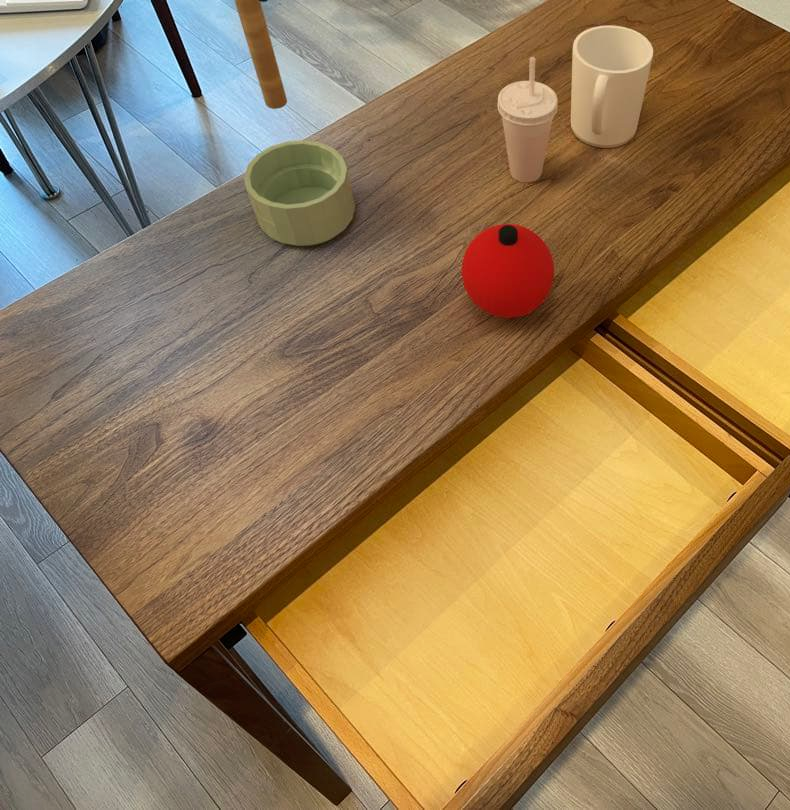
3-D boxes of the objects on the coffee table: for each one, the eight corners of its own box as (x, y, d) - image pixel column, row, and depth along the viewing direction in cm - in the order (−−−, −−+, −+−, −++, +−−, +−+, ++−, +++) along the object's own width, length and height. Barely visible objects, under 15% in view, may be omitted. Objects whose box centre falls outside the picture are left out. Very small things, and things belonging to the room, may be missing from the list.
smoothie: (565, 171, 90) (573, 61, 78) (526, 198, 88) (530, 89, 76) (524, 145, 92) (527, 34, 81) (486, 171, 90) (483, 60, 78)
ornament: (566, 287, 81) (573, 215, 72) (527, 349, 76) (530, 280, 68) (489, 257, 83) (487, 183, 74) (447, 316, 78) (440, 244, 70)
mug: (576, 97, 98) (583, 19, 89) (646, 112, 97) (660, 34, 88) (553, 153, 92) (559, 74, 83) (627, 169, 91) (640, 91, 82)
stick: (289, 106, 72) (243, -62, 60) (267, 110, 72) (216, -59, 59) (285, 94, 73) (239, -75, 61) (263, 97, 73) (213, -72, 60)
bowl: (267, 260, 81) (252, 217, 76) (253, 194, 86) (237, 150, 81) (364, 239, 83) (355, 196, 78) (345, 176, 89) (335, 132, 83)
